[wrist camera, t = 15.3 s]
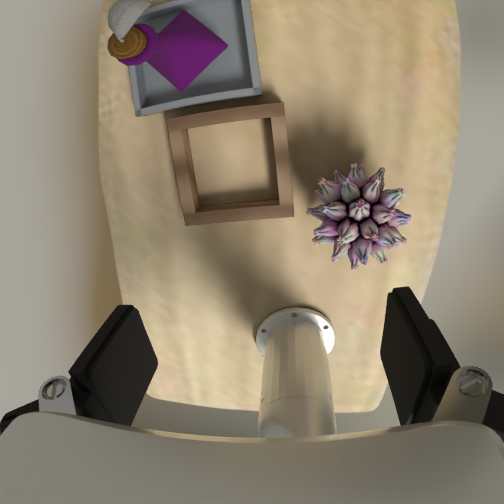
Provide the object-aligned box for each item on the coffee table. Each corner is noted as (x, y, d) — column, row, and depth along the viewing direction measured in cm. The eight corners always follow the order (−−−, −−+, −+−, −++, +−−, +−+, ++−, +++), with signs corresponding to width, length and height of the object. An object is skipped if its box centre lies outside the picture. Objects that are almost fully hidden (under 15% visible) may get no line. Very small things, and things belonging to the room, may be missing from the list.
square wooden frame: (293, 210, 39) (294, 216, 37) (190, 219, 41) (185, 225, 38) (283, 103, 33) (283, 102, 31) (173, 118, 35) (166, 119, 33)
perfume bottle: (189, 94, 33) (115, 85, 17) (149, 58, 31) (60, 36, 15) (233, 51, 30) (191, 2, 14) (191, 16, 28) (125, -40, 12)
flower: (313, 250, 41) (323, 302, 30) (294, 164, 36) (300, 187, 26) (393, 234, 39) (427, 279, 28) (383, 147, 34) (423, 165, 23)
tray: (262, 95, 33) (261, 93, 30) (145, 115, 35) (135, 116, 32) (248, -6, 27) (246, -14, 24) (134, 21, 29) (124, 16, 26)
